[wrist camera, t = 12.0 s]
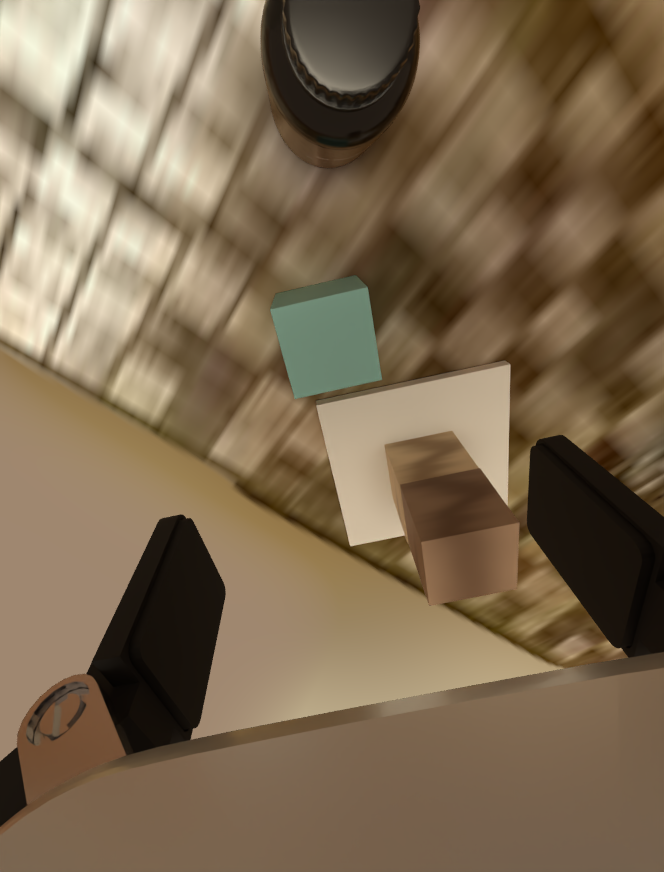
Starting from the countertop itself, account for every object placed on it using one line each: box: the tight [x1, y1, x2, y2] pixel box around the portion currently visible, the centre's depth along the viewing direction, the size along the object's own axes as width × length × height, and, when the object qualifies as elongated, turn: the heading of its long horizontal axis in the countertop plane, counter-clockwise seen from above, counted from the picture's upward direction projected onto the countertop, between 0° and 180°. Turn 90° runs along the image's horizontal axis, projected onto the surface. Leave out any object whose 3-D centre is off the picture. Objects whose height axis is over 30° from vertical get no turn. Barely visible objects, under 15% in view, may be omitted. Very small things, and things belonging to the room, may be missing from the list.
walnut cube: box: [400, 468, 519, 606], centre depth 28 cm, size 6×6×6 cm
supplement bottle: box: [261, 0, 420, 168], centre depth 19 cm, size 7×7×12 cm
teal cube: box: [270, 275, 382, 399], centre depth 28 cm, size 6×6×6 cm
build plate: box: [316, 361, 510, 546], centre depth 36 cm, size 16×16×1 cm
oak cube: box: [384, 431, 478, 543], centre depth 33 cm, size 6×6×6 cm
